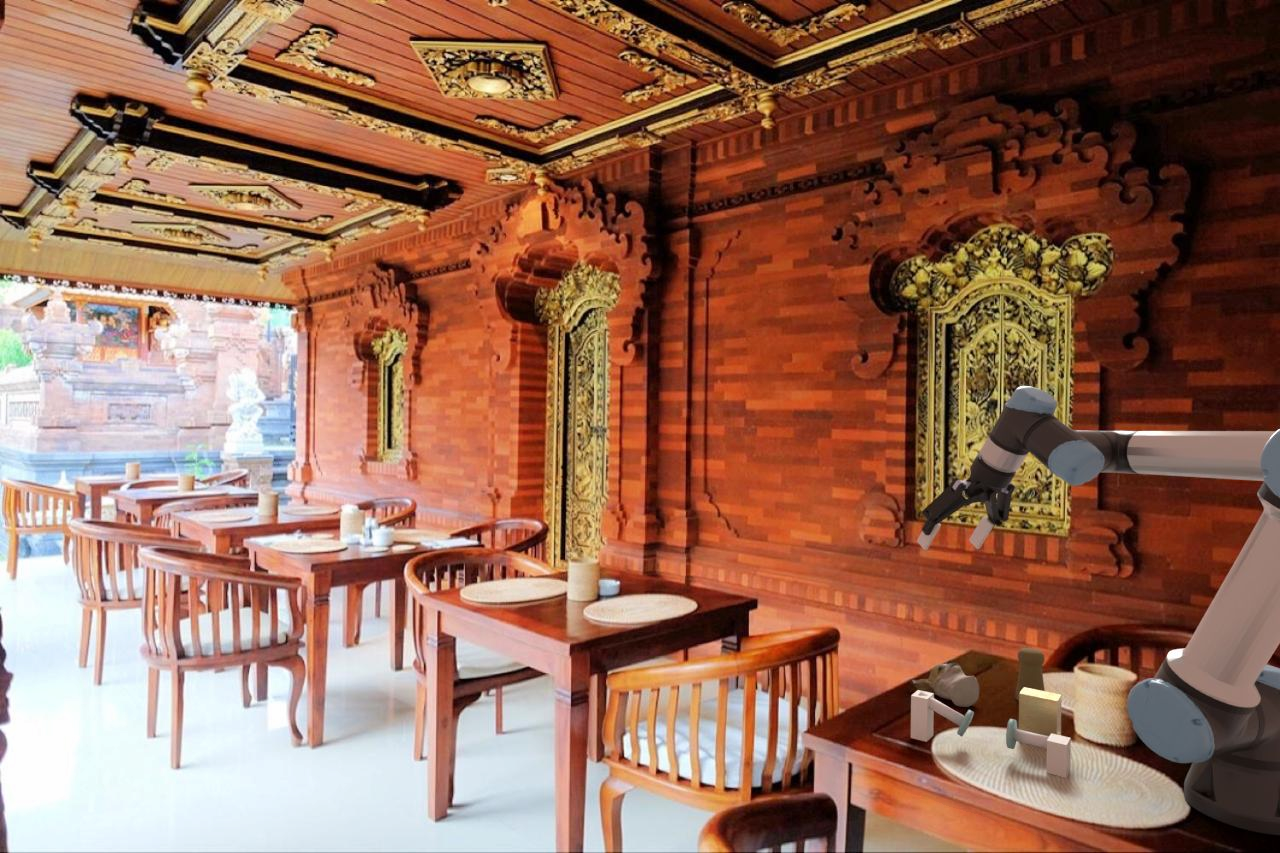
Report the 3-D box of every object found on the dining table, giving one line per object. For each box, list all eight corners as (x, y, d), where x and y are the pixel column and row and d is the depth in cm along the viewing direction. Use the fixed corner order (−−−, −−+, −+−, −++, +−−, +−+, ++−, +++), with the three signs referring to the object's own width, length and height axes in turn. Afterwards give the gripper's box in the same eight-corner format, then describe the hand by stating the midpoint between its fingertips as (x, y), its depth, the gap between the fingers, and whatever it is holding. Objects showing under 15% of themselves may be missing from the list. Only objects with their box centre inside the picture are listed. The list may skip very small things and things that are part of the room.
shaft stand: (1070, 768, 132) (1071, 719, 132) (1065, 778, 128) (1066, 728, 128) (918, 730, 148) (918, 686, 148) (909, 738, 144) (910, 693, 144)
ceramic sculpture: (952, 670, 157) (906, 654, 172) (953, 713, 157) (907, 693, 171) (994, 666, 160) (945, 651, 175) (995, 708, 160) (946, 689, 174)
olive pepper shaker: (1008, 697, 167) (1009, 646, 167) (1027, 693, 170) (1028, 644, 170) (1033, 706, 162) (1033, 654, 162) (1052, 702, 164) (1053, 651, 164)
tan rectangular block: (1023, 733, 147) (1024, 687, 147) (1060, 742, 143) (1061, 694, 143) (1018, 741, 143) (1019, 693, 143) (1056, 750, 139) (1057, 701, 140)
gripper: (1033, 452, 152) (983, 532, 163) (934, 448, 143) (889, 533, 154) (1059, 475, 146) (1006, 556, 157) (958, 472, 138) (909, 558, 148)
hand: (948, 545), depth 156 cm, fingers open, 13 cm apart
